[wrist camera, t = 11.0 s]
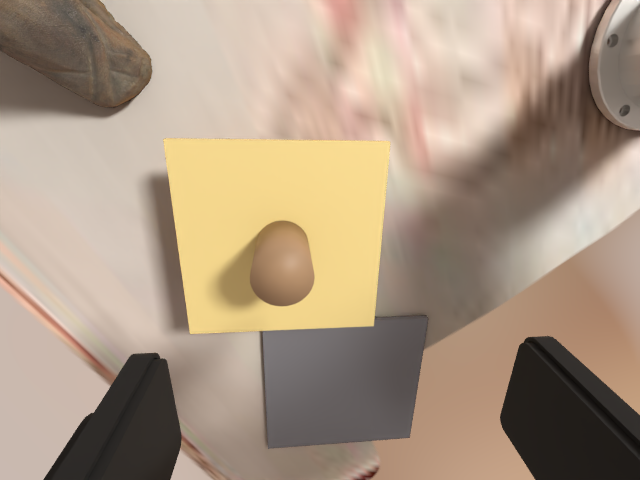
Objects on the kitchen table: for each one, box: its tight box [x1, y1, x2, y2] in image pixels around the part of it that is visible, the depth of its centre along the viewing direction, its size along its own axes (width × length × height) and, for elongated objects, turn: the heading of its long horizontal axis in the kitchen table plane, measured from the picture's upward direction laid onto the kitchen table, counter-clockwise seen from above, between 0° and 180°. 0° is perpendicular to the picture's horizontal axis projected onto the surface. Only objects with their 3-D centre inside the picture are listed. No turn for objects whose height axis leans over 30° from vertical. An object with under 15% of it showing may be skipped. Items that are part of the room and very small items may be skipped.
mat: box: [263, 315, 428, 449], centre depth 36 cm, size 16×16×1 cm
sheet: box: [163, 138, 390, 334], centre depth 22 cm, size 14×14×6 cm
